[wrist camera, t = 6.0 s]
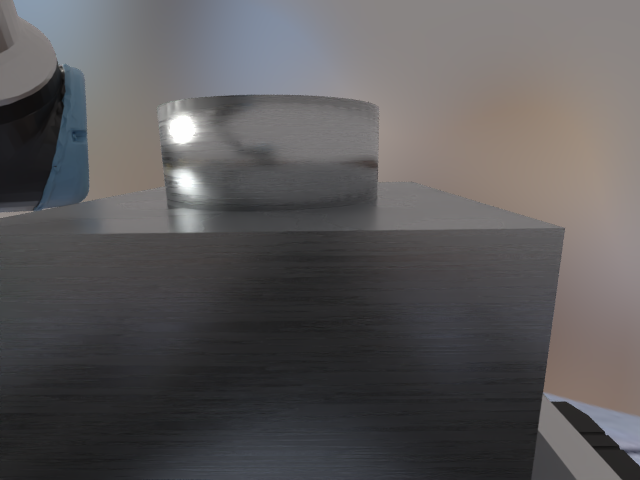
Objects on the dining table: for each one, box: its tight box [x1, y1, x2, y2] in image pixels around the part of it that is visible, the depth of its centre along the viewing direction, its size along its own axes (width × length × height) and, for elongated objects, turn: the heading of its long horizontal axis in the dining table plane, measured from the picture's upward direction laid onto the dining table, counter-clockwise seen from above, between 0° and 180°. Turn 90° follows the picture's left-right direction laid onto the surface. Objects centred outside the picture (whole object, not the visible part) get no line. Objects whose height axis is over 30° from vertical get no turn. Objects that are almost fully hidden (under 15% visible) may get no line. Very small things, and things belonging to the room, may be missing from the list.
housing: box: [0, 95, 565, 480], centre depth 9 cm, size 7×7×16 cm
